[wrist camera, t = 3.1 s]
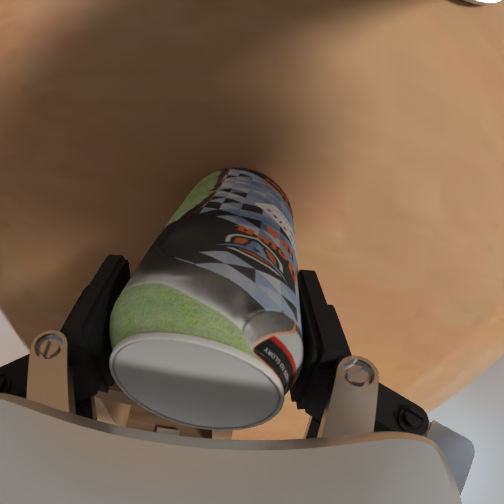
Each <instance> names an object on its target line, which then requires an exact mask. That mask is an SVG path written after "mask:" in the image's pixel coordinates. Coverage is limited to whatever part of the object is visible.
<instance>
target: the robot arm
mask: <svg viewBox="0 0 504 504" xmlns="http://www.w3.org/2000/svg"><path fill="white" fill-rule="evenodd" d="M463 1H467V2H470V3H473V4H478V5H489V4H496V3H498V2H501V1H502V0H463ZM130 278H131V277H130V270H129V263H128V260H124V257H123V256H120V255H108V256H107V258H106V259H105V261H104V262H103V264H102V266H101V267H100V269H99V270H98V272H97V273H96V275H95V276H94V278H93V280H92V281H91V283H90V284H89V286H87V287H86V288H85V289H84V291H83V292H82V294H81V296H80V297H79V299H78V301H77V302H76V304H75V306H74V307H73V309H72V311H71V313H70V314H69V316H68V318H67V320H66V321H65V323H64V325H63V327H62V329H61V330H60V331H56V330H48V331H44V332H42V333H40V334H39V335H38V336H37V337H35V339H34V340H33V342H32V344H31V348H30V354H28V355H26V356H24V357H22V358H20V359H17V360H15V361H13V362H11V363H9V364H6V365H4V366H2V367H0V504H462V502H461V498H460V495H461V492H462V490H463V487H464V484H465V481H466V478H467V476H468V473H469V470H470V467H471V464H472V461H473V458H474V446H473V444H472V443H471V441H469V440H468V439H467V438H465V437H464V436H461V435H460V434H458V433H456V432H454V431H452V430H450V429H449V428H447V427H445V426H443V425H441V424H440V423H438V422H436V421H434V420H433V421H432V422H429V420H428V417H427V414H426V412H425V411H424V410H423V409H422V408H421V407H420V406H418V405H416V404H415V403H413V402H411V401H409V400H408V399H406V398H404V397H403V396H401V395H399V394H398V393H396V392H394V391H392V390H391V389H389V388H387V387H386V386H384V385H382V384H381V383H379V373H378V370H377V368H376V367H375V365H374V364H373V363H372V362H370V361H369V360H368V359H366V358H363V357H360V356H352V355H351V352H350V349H349V346H348V344H347V341H346V338H345V335H344V332H343V330H342V327H341V324H340V321H339V319H338V316H337V313H336V311H335V308H334V306H333V305H327V303H326V300H325V297H324V294H323V291H322V289H321V286H320V283H319V281H318V278H317V275H316V273H315V271H311V270H300V271H299V273H297V280H298V288H299V296H300V305H301V313H302V326H303V341H304V361H303V365H302V368H301V371H300V374H299V376H298V378H297V380H296V381H295V383H294V384H293V385H292V387H291V388H290V394H291V400H292V401H293V402H296V403H297V409H305V411H306V413H308V414H309V415H310V419H309V422H308V425H307V428H306V432H305V435H304V438H303V439H292V440H225V439H209V438H196V437H186V436H178V435H170V434H163V433H156V432H150V431H144V430H138V429H133V428H128V427H123V426H118V425H114V424H109V423H105V422H101V421H98V420H97V413H96V406H95V399H94V395H96V394H97V393H98V391H101V392H105V393H108V391H109V387H110V386H114V384H115V380H114V378H113V377H112V375H111V371H110V367H109V360H110V356H111V353H112V351H113V350H112V346H111V341H110V336H109V324H110V315H111V312H112V310H113V307H114V304H115V302H116V300H117V299H118V297H119V296H120V294H121V292H122V291H123V289H124V288H125V286H126V284H127V283H128V281H129V280H130Z"/></svg>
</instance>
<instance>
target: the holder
mask: <svg viewBox="0 0 504 504" xmlns="http://www.w3.org/2000/svg"><path fill="white" fill-rule="evenodd" d="M94 399H95V406H96V413H97V417H98V418H99V420H100V421H101V422H105V423H109V424H114V425H118V426H123V427H128V428H133V429H138V430H144V431H150V432H156V433H163V434H170V435H178V436H186V437H196V438H209V439H225V440H231V437H232V431H233V430H207V429H201V428H195V427H190V426H186V425H182V424H179V423H176V422H173V421H170V420H167V419H165V418H162V417H160V416H158V415H156V414H154V413H152V412H150V411H148V410H146V409H145V408H143V407H142V406H140V405H138V404H137V403H136V402H134V401H133V400H132V399H131V398H129V397H128V396H127V395H126V394H125V393H124V392H123V391H122V390H121V389H120V387H119V386H118V385H117V384H116V382H115V384H114V386H110V387H109V391H108V393H105V392H101V391H98V393H97V394H96V395H94Z"/></svg>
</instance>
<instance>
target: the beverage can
mask: <svg viewBox="0 0 504 504" xmlns="http://www.w3.org/2000/svg"><path fill="white" fill-rule="evenodd" d="M297 273H298V264H297V254H296V244H295V234H294V225H293V216H292V210H291V206H290V203H289V201H288V199H287V197H286V195H285V193H284V192H283V191H282V189H281V188H280V187H279V186H278V185H277V184H276V183H275V182H274V181H273V180H271V179H270V178H268V177H267V176H265V175H264V174H261V173H259V172H257V171H254V170H250V169H246V168H227V169H222V170H219V171H215V172H213V173H211V174H209V175H207V176H206V177H204V178H203V179H202V180H201V181H199V182H198V183H197V184H196V186H195V187H194V188H193V189H192V190H191V192H190V193H189V194H188V196H187V197H186V198H185V200H184V201H183V202H182V204H181V205H180V207H179V208H178V209H177V211H176V212H175V213H174V215H173V216H172V218H171V219H170V220H169V222H168V223H167V225H166V226H165V227H164V229H163V230H162V232H161V233H160V235H159V236H158V237H157V239H156V240H155V242H154V243H153V245H152V246H151V248H150V249H149V251H148V252H147V254H146V255H145V257H144V258H143V260H142V261H141V263H140V264H139V266H138V267H137V269H136V270H135V272H134V273H133V275H132V276H131V278H130V280H129V281H128V283H127V284H126V286H125V288H124V289H123V291H122V292H121V294H120V296H119V297H118V299H117V300H116V302H115V304H114V307H113V310H112V312H111V315H110V324H109V336H110V341H111V346H112V350H113V351H112V353H111V356H110V360H109V367H110V371H111V375H112V377H113V378H114V380H115V382H116V384H117V385H118V386H119V387H120V389H121V390H122V391H123V392H124V393H125V394H126V395H127V396H128V397H129V398H131V399H132V400H133V401H134V402H136V403H137V404H138V405H140V406H142V407H143V408H145V409H146V410H148V411H150V412H152V413H154V414H156V415H158V416H160V417H162V418H165V419H167V420H170V421H173V422H176V423H179V424H182V425H186V426H190V427H195V428H201V429H207V430H240V429H246V428H251V427H255V426H258V425H261V424H263V423H265V422H267V421H269V420H271V419H272V418H273V417H275V416H276V415H277V414H278V412H279V411H280V410H281V408H282V406H283V403H284V395H285V394H286V393H287V392H288V391H289V390H290V388H291V387H292V385H293V384H294V383H295V381H296V380H297V378H298V376H299V374H300V371H301V368H302V365H303V361H304V341H303V326H302V313H301V305H300V296H299V288H298V280H297Z"/></svg>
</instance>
